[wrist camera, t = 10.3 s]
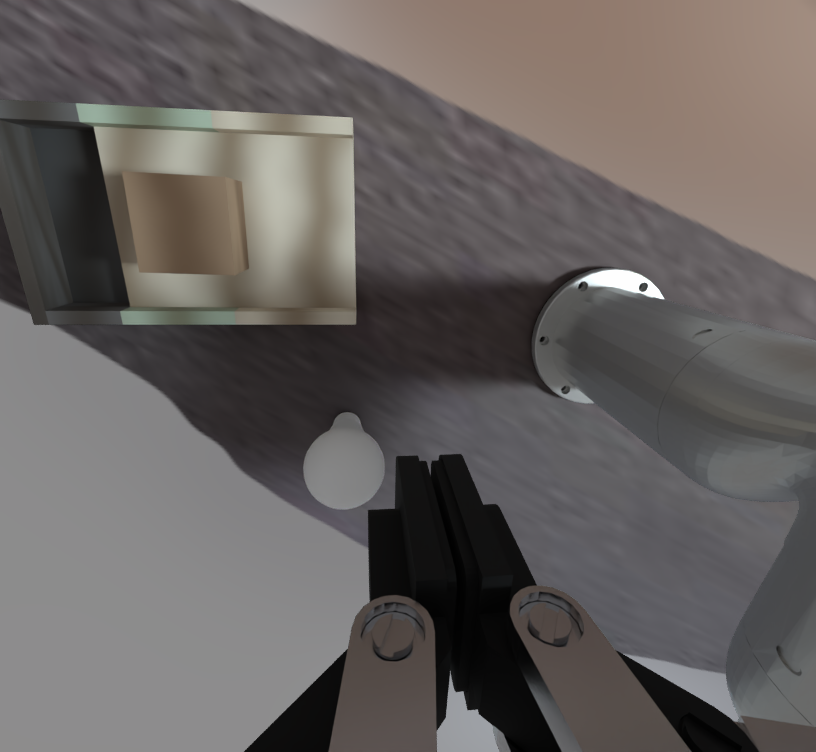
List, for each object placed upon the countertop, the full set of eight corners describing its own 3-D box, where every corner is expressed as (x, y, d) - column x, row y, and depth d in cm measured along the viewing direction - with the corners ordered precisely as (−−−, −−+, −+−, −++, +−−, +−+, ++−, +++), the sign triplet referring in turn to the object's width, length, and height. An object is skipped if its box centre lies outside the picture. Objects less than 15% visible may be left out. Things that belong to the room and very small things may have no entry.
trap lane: (353, 127, 31) (352, 117, 28) (356, 314, 36) (356, 324, 33) (12, 111, 29) (-32, 97, 26) (65, 314, 34) (33, 324, 31)
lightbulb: (330, 379, 38) (320, 440, 28) (391, 406, 40) (402, 472, 29) (303, 434, 40) (284, 510, 30) (362, 458, 41) (363, 538, 31)
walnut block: (241, 181, 30) (225, 177, 26) (249, 268, 32) (234, 275, 28) (152, 176, 29) (121, 171, 26) (165, 265, 32) (139, 272, 28)
